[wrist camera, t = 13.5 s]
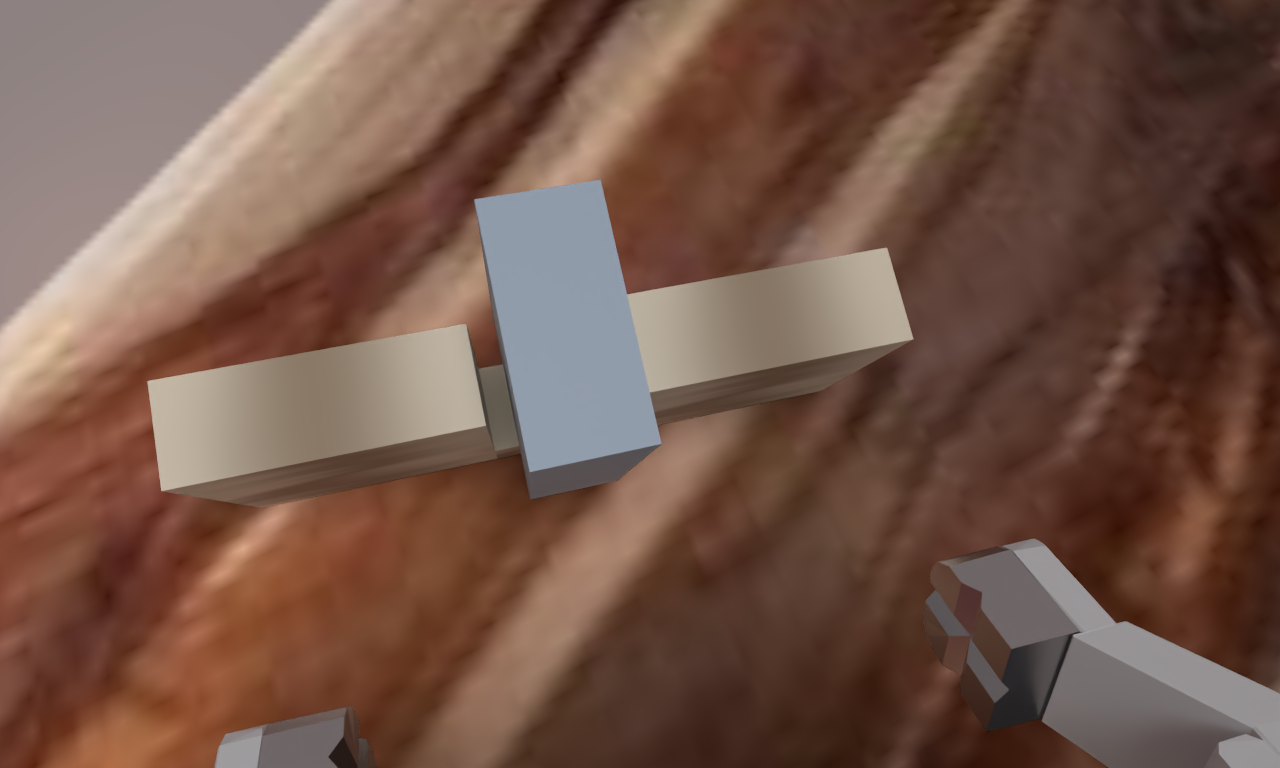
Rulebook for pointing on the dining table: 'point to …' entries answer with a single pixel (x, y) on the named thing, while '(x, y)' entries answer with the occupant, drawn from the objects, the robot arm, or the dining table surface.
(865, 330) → the beech slot board
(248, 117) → the dining table surface
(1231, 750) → the robot arm
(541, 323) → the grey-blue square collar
